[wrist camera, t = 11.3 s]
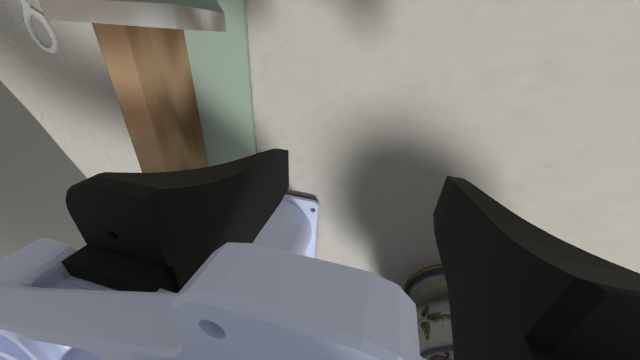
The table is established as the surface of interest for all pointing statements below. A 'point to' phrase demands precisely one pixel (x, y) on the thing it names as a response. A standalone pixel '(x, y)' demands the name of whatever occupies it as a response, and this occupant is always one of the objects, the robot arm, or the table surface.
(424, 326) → the apothecary jar
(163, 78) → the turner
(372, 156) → the table surface
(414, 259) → the table surface
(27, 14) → the scissors
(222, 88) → the tool mat
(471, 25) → the table surface
